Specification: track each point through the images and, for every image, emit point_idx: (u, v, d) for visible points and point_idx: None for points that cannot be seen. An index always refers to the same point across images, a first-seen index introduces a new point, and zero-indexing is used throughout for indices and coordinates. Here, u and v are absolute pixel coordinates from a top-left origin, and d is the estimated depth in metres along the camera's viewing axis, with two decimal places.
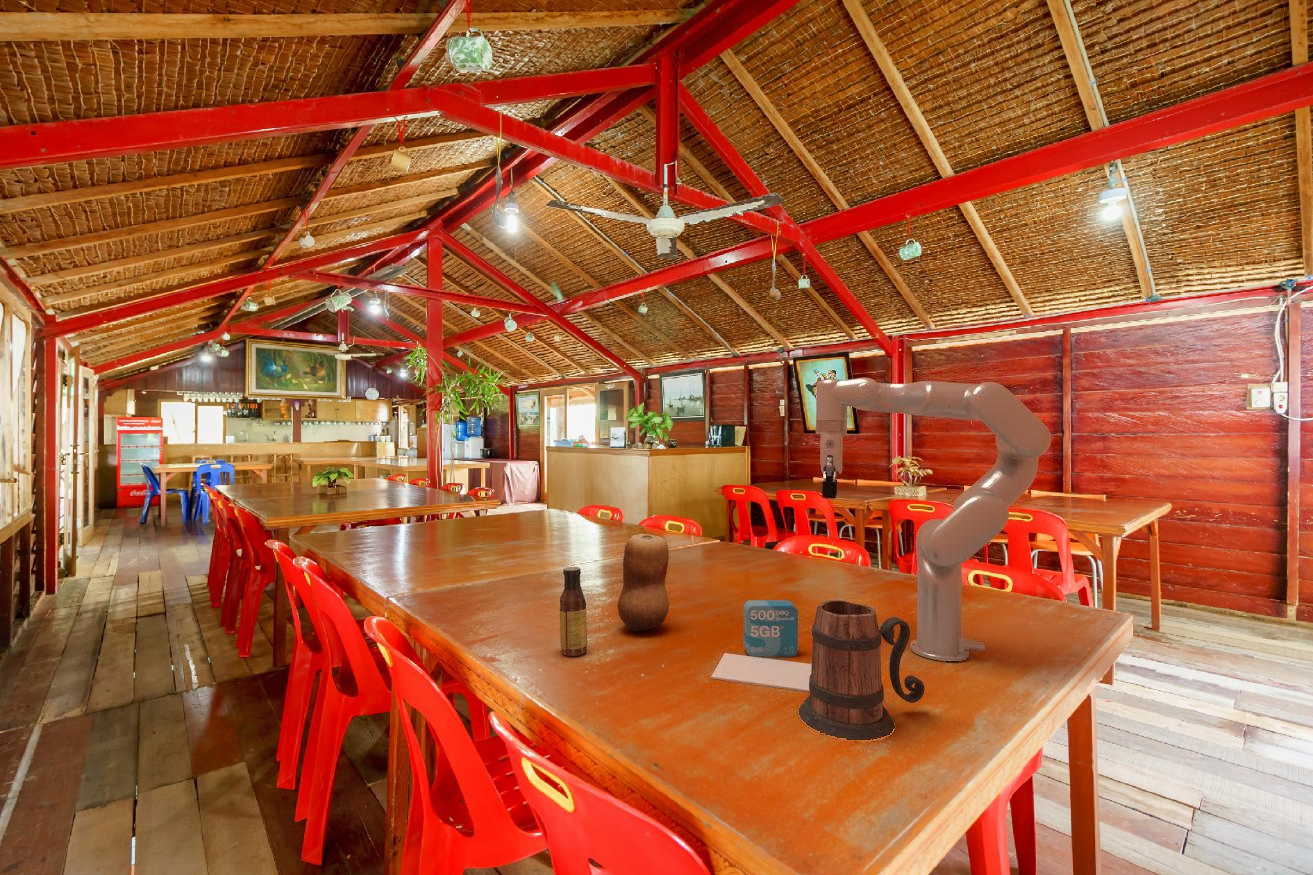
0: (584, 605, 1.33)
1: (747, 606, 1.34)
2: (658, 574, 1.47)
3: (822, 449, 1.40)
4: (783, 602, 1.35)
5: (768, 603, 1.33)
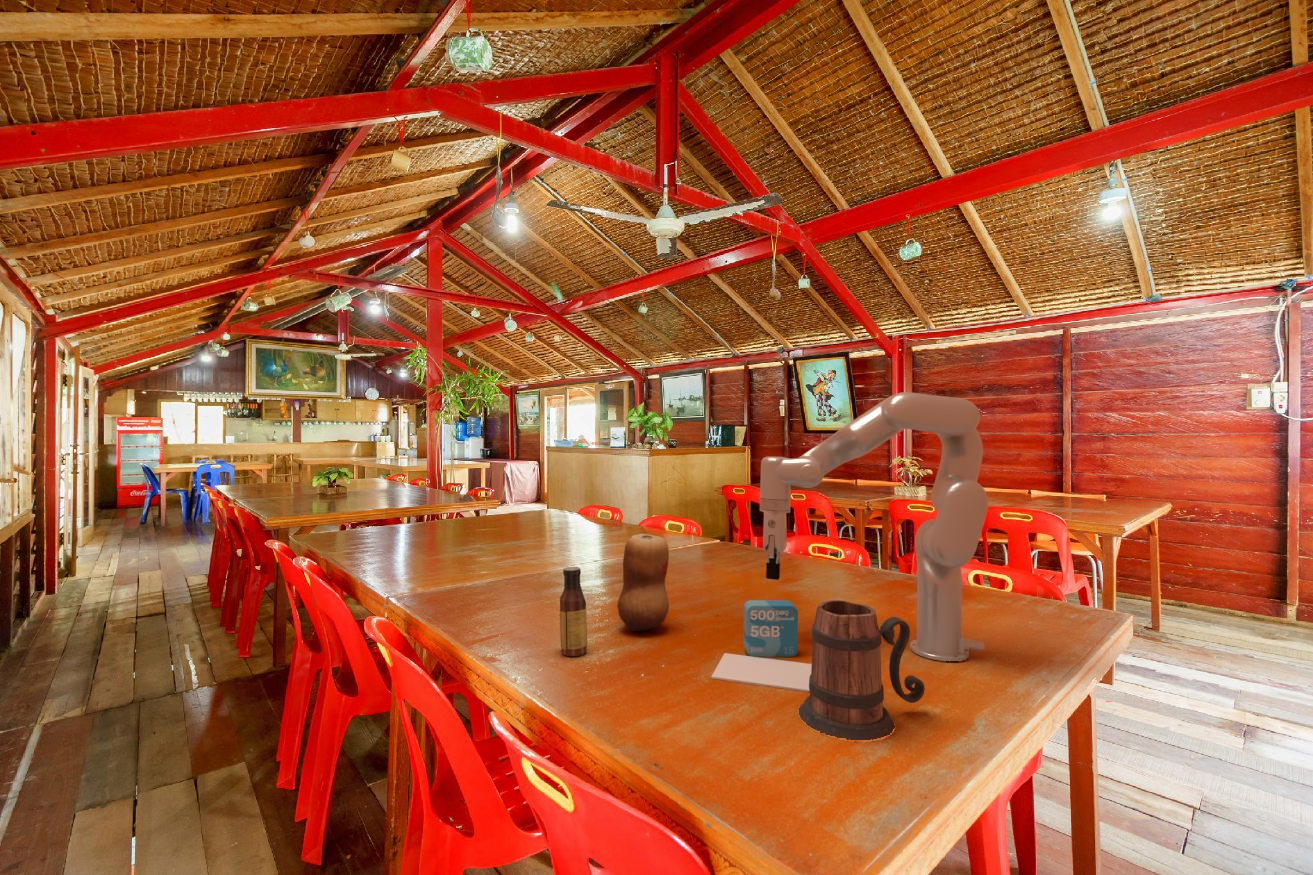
0: (584, 605, 1.33)
1: (747, 606, 1.34)
2: (658, 574, 1.47)
3: (764, 528, 1.39)
4: (783, 602, 1.35)
5: (768, 603, 1.33)
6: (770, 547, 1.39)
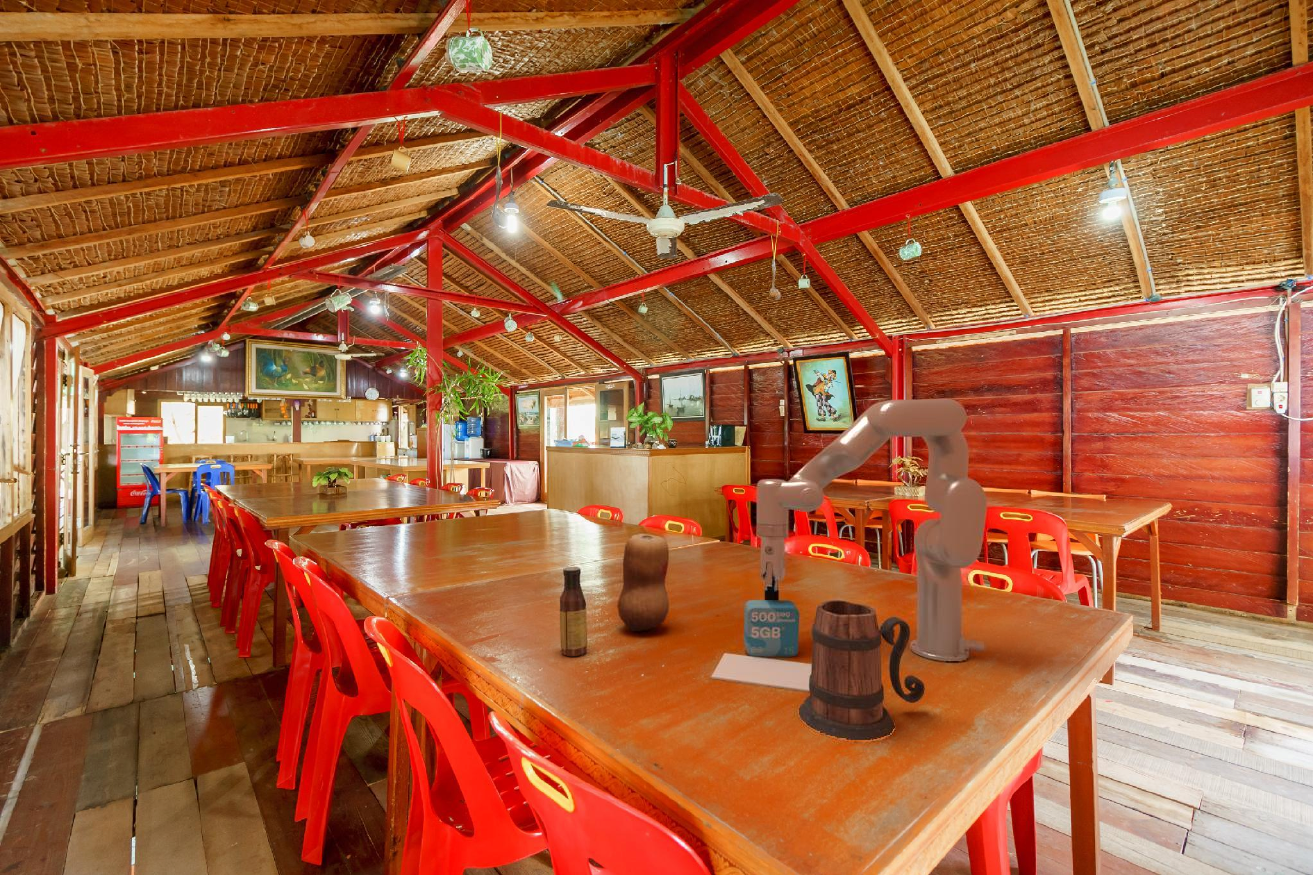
0: (584, 605, 1.33)
1: (747, 607, 1.32)
2: (658, 574, 1.47)
3: (761, 555, 1.34)
4: (784, 603, 1.33)
5: (770, 605, 1.32)
6: (768, 575, 1.33)
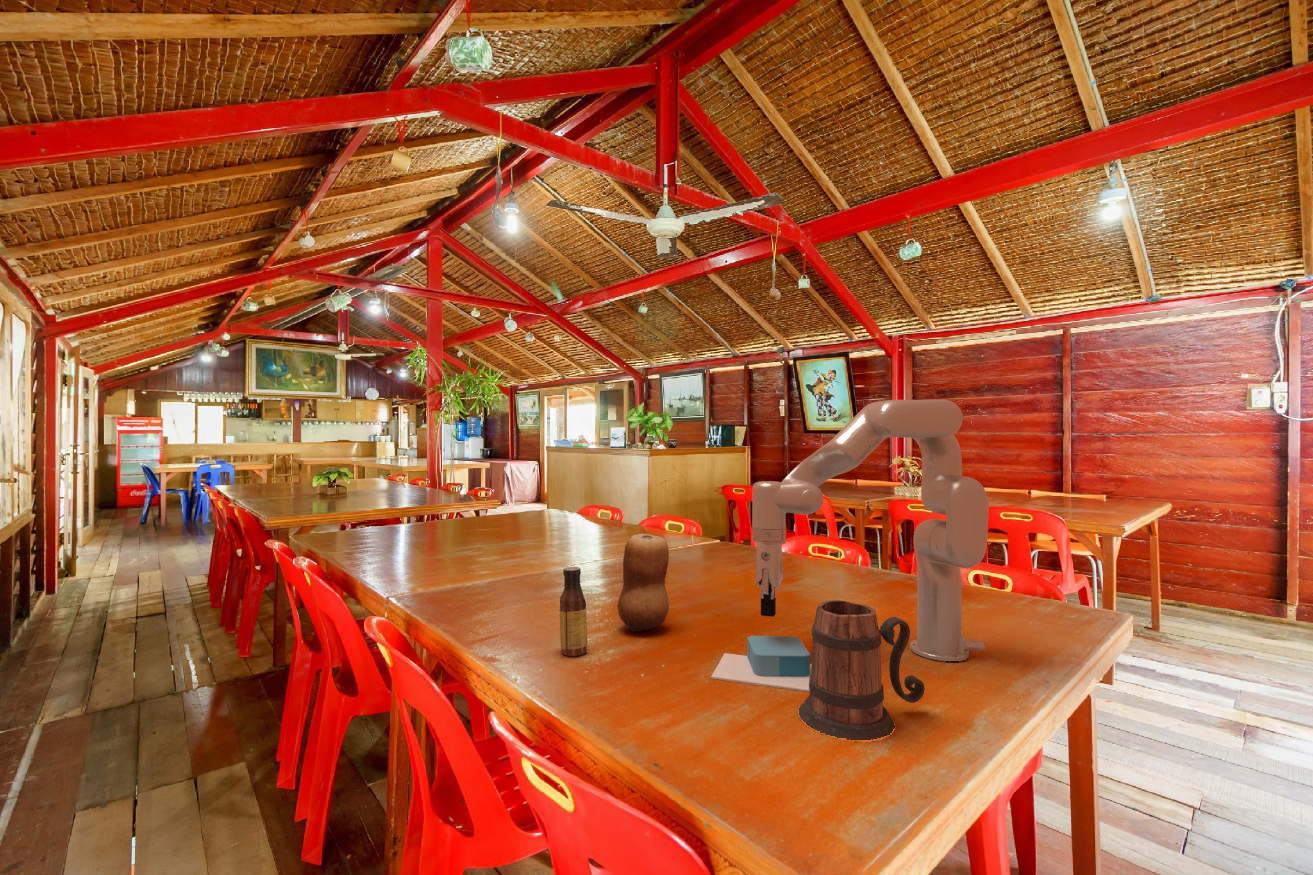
0: (584, 605, 1.33)
1: (755, 667, 1.21)
2: (658, 574, 1.47)
3: (757, 561, 1.27)
4: (798, 664, 1.20)
5: (780, 669, 1.20)
6: (764, 582, 1.26)
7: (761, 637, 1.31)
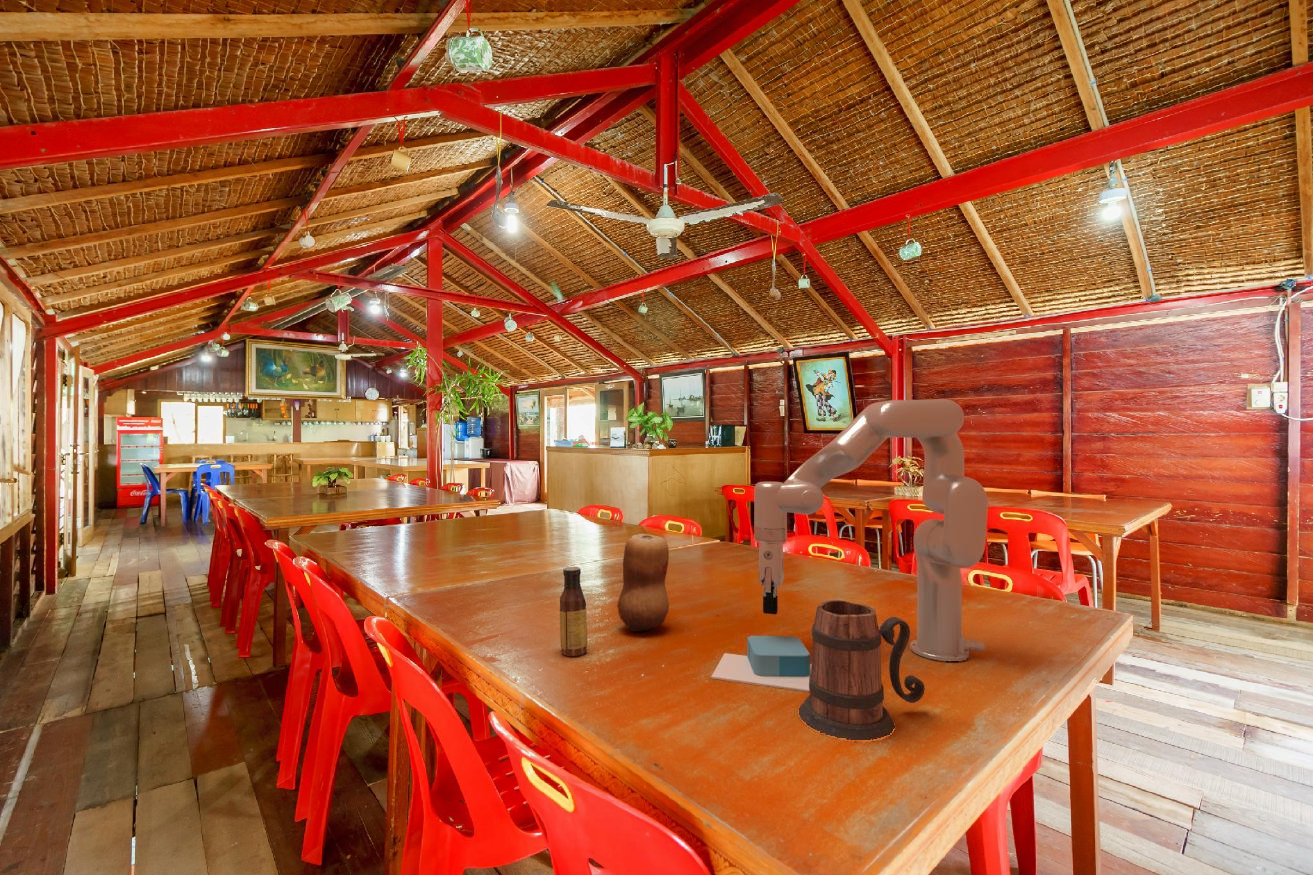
0: (584, 605, 1.33)
1: (755, 667, 1.21)
2: (658, 574, 1.47)
3: (760, 560, 1.29)
4: (798, 664, 1.20)
5: (780, 669, 1.20)
6: (767, 580, 1.29)
7: (761, 637, 1.31)
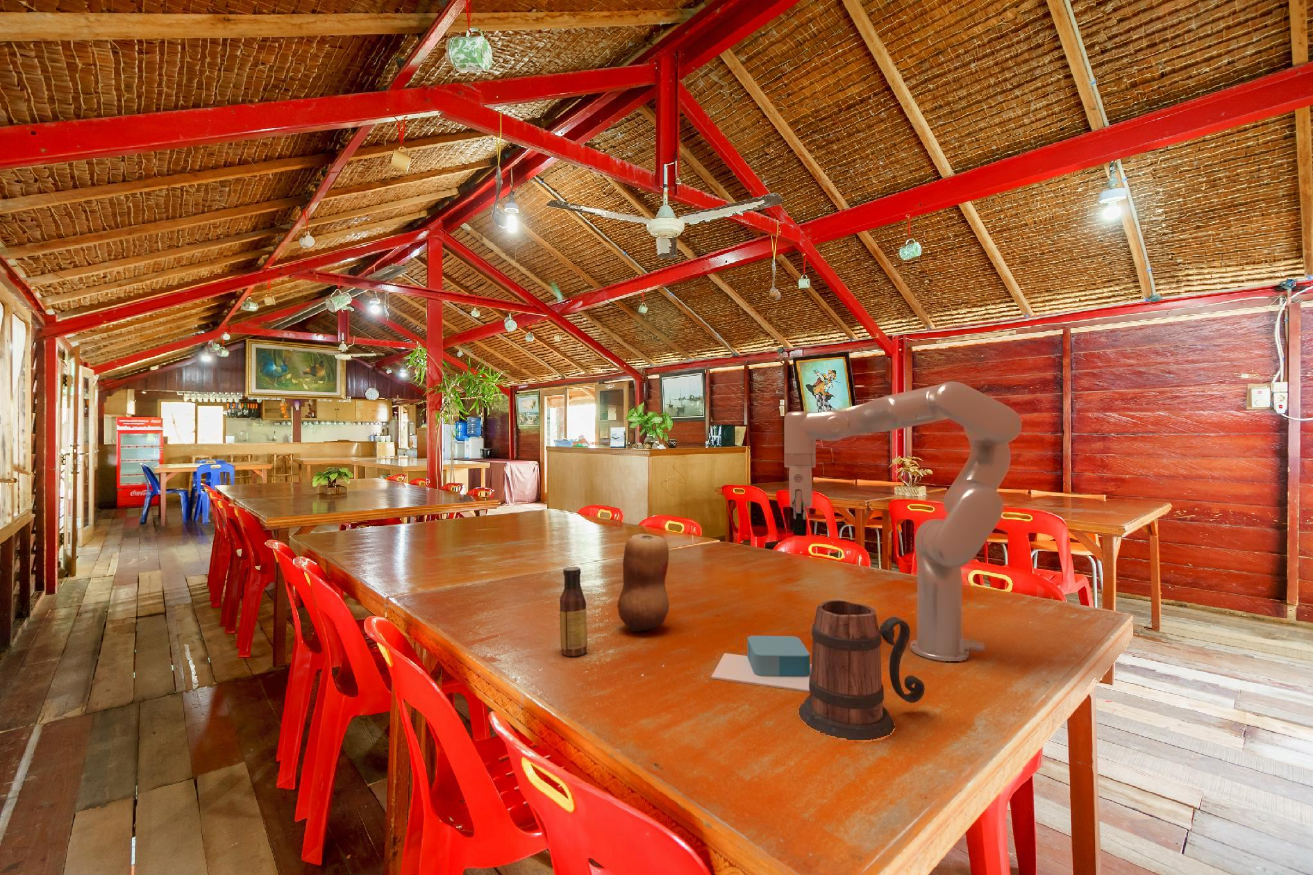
0: (584, 605, 1.33)
1: (755, 667, 1.21)
2: (658, 574, 1.47)
3: (790, 483, 1.37)
4: (798, 664, 1.20)
5: (780, 669, 1.20)
6: (797, 502, 1.37)
7: (761, 637, 1.31)
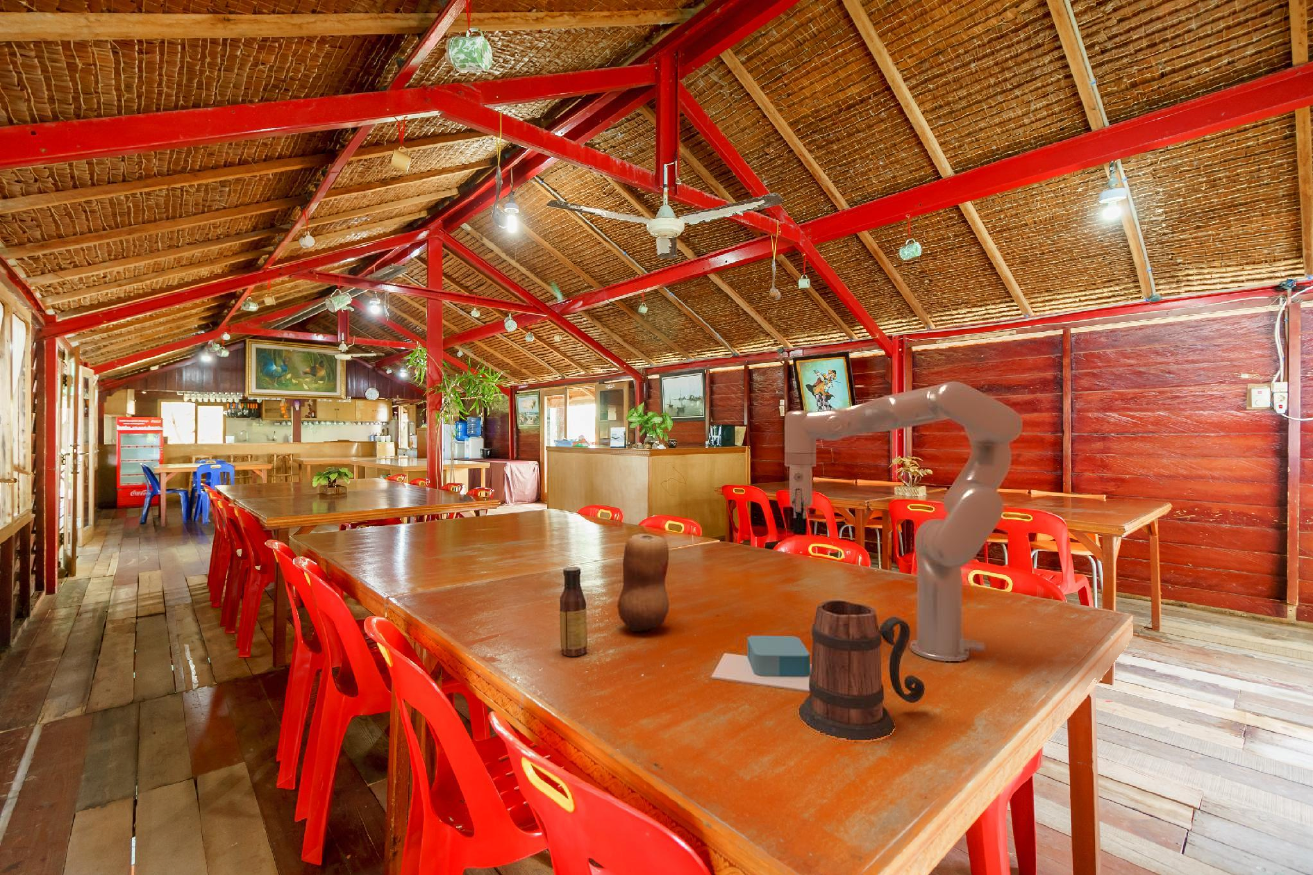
0: (584, 605, 1.33)
1: (755, 667, 1.21)
2: (658, 574, 1.47)
3: (791, 482, 1.37)
4: (798, 664, 1.20)
5: (780, 669, 1.20)
6: (797, 501, 1.37)
7: (761, 637, 1.31)
